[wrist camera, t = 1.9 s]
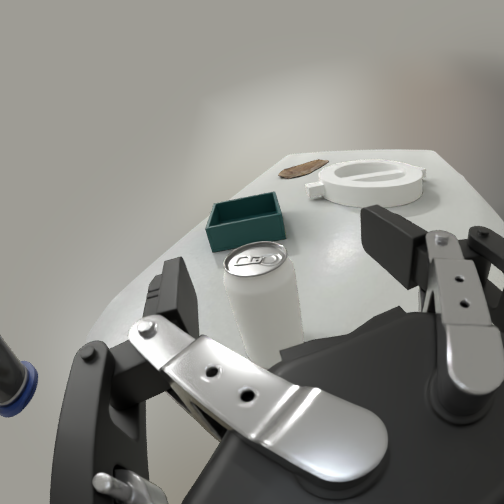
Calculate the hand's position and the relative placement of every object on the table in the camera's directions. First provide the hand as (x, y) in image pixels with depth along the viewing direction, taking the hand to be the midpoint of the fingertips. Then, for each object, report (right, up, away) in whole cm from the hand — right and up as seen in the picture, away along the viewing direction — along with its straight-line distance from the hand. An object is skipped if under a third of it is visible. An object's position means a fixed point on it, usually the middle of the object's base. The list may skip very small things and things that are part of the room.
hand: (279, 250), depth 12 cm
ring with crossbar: (+30, +17, +56) cm, 66 cm away
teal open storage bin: (-2, +4, +47) cm, 48 cm away
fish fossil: (+18, +30, +85) cm, 92 cm away
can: (+2, -11, +18) cm, 21 cm away
